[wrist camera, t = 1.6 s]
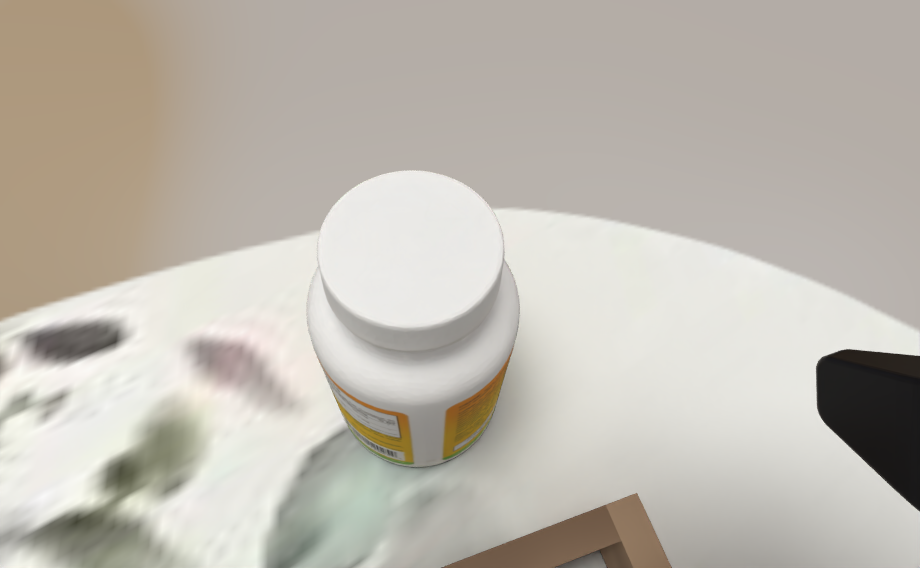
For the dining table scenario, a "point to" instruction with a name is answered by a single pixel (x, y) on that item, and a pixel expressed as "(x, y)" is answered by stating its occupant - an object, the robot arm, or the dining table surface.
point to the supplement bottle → (413, 314)
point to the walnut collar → (582, 541)
